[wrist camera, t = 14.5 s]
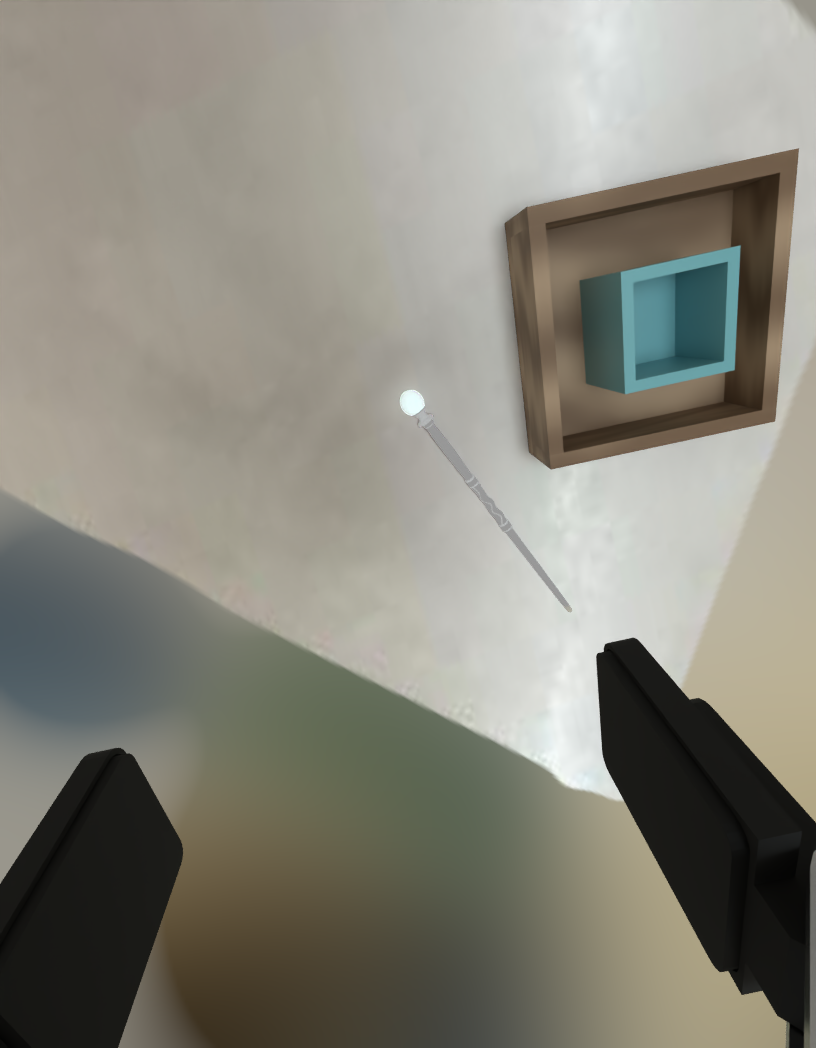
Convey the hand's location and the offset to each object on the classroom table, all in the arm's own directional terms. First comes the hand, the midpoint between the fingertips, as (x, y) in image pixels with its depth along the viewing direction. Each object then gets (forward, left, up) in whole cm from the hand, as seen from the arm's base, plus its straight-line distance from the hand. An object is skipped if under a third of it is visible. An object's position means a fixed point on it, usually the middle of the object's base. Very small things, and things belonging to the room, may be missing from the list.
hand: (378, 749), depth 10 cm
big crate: (-4, +20, -30) cm, 37 cm away
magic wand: (+9, +9, -31) cm, 33 cm away
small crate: (-4, +20, -29) cm, 36 cm away
